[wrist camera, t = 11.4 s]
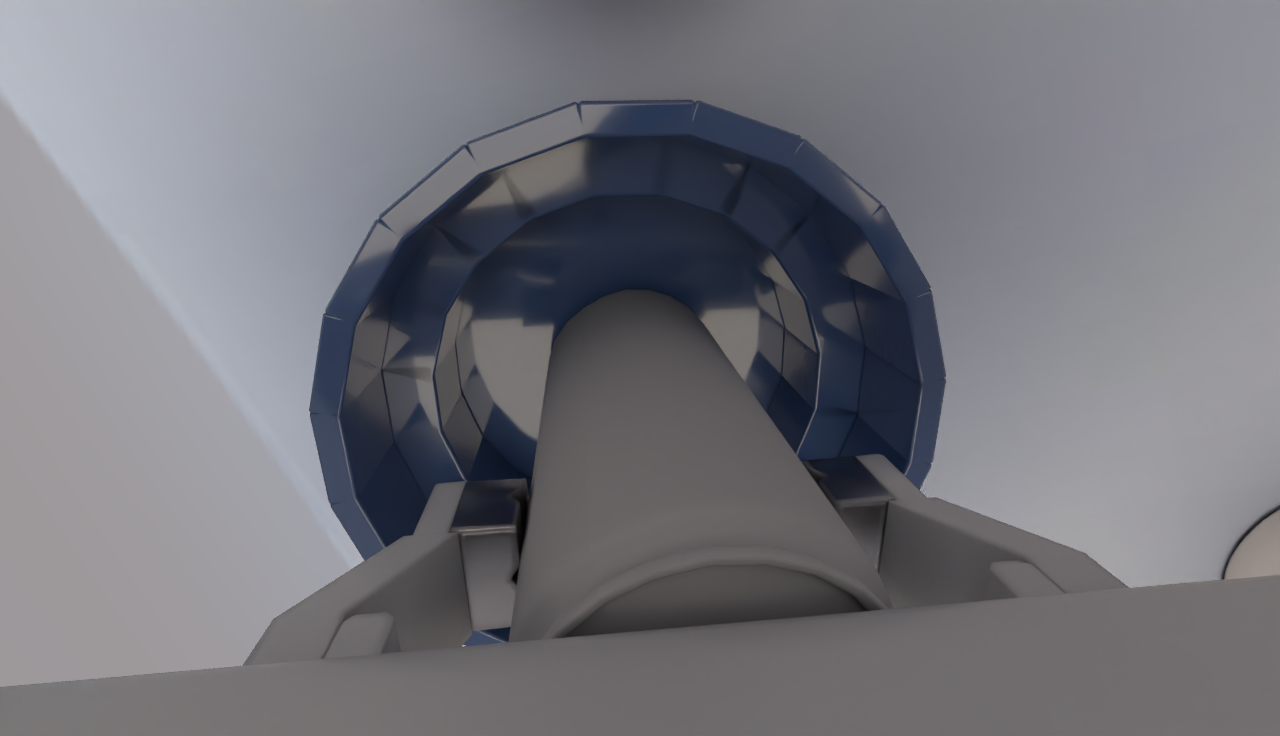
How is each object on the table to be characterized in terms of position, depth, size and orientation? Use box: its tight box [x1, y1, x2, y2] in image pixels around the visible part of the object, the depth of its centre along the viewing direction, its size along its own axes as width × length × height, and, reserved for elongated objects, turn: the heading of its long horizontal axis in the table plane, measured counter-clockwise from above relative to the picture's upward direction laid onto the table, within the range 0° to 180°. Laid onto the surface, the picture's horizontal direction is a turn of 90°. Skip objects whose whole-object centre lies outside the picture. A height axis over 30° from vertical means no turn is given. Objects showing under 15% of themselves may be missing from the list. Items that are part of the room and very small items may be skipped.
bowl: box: [309, 100, 946, 646], centre depth 16 cm, size 13×13×6 cm
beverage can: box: [509, 290, 894, 642], centre depth 12 cm, size 5×5×12 cm
